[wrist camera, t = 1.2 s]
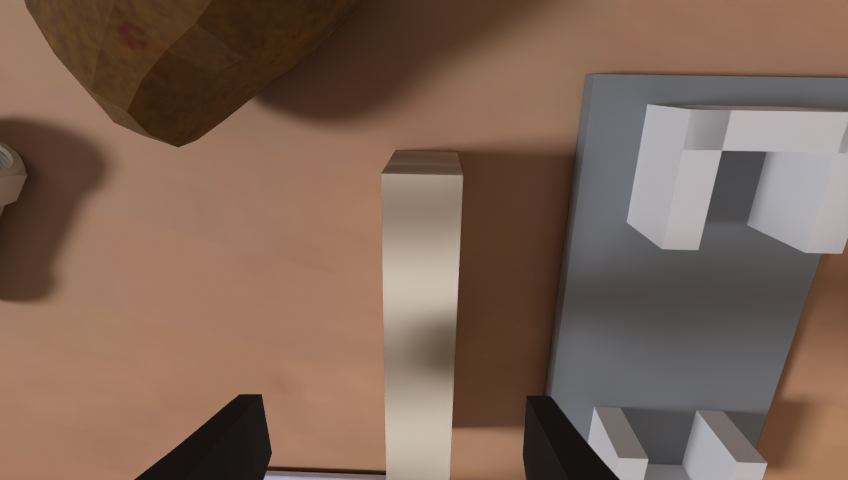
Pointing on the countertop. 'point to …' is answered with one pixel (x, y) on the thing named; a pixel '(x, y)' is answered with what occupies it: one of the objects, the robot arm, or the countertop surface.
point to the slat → (420, 309)
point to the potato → (182, 54)
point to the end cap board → (692, 262)
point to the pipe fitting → (10, 175)
